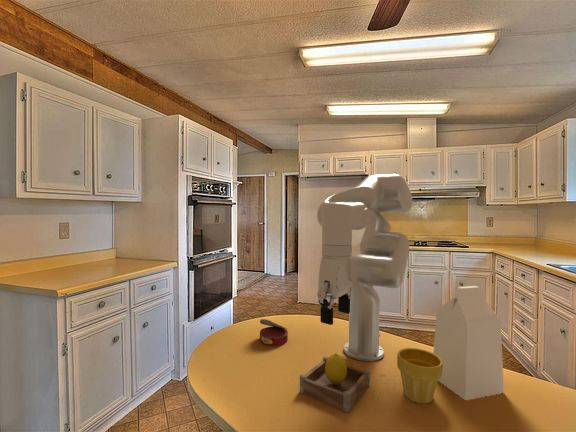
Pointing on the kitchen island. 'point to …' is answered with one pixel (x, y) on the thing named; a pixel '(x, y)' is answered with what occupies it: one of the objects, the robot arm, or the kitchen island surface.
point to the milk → (469, 345)
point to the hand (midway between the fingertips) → (335, 317)
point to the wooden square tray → (335, 386)
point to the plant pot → (419, 373)
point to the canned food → (273, 334)
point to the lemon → (335, 369)
